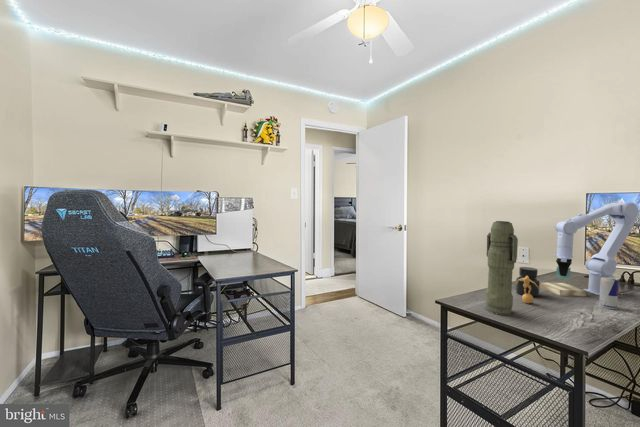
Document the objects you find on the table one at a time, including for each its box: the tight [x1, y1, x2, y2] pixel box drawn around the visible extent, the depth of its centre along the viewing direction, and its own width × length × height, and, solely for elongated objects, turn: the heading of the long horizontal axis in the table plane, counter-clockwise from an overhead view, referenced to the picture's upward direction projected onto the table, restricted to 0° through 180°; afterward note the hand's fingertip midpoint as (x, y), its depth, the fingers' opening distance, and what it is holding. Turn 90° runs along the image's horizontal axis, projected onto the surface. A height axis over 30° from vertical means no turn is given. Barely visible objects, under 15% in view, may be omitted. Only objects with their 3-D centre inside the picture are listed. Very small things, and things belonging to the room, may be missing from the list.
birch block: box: [540, 282, 588, 297], centre depth 139 cm, size 12×12×3 cm
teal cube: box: [555, 265, 571, 281], centre depth 139 cm, size 5×5×5 cm
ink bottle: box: [515, 266, 541, 298], centre depth 134 cm, size 10×9×12 cm
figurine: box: [515, 276, 540, 304], centre depth 122 cm, size 8×6×12 cm
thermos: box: [485, 220, 519, 316], centre depth 113 cm, size 9×12×35 cm
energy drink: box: [598, 277, 620, 310], centre depth 119 cm, size 5×5×12 cm
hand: (563, 274), depth 139 cm, fingers closed on teal cube, 5 cm apart
